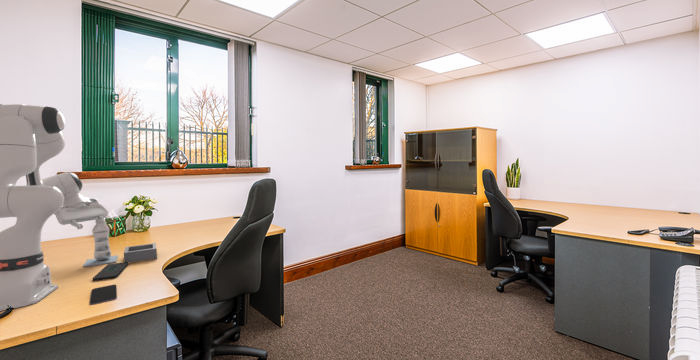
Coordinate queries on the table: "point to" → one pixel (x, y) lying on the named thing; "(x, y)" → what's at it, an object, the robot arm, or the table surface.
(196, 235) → the table surface
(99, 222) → the plastic bottle
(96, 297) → the smartphone
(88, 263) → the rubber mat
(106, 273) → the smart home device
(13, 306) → the robot arm
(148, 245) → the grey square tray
